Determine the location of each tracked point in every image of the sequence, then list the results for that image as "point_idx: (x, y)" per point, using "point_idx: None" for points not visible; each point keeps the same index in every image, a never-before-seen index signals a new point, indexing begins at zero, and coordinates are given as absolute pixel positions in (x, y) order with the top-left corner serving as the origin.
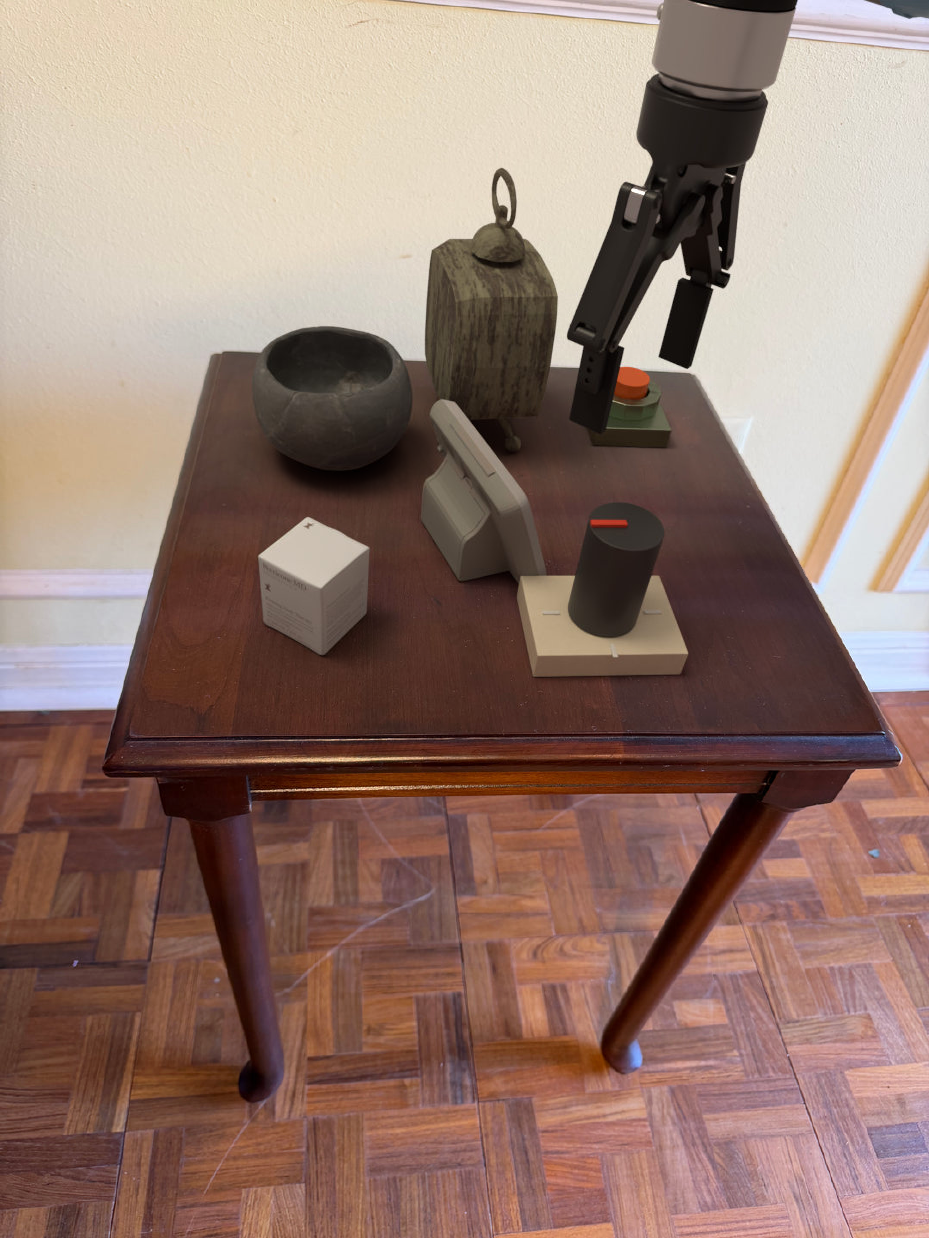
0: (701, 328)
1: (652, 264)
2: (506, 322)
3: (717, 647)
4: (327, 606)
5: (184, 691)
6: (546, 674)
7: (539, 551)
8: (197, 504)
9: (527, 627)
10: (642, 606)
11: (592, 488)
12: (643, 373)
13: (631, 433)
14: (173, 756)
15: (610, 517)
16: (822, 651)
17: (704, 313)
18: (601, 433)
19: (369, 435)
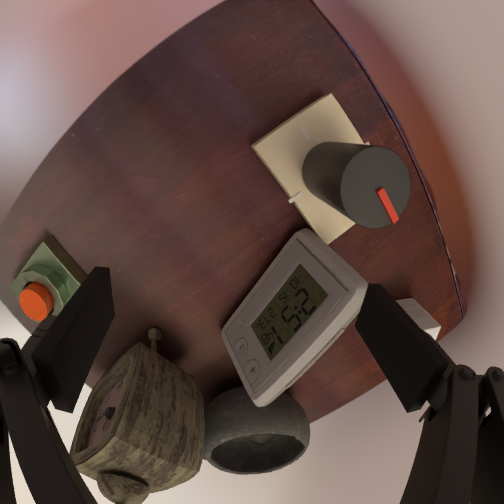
0: (70, 303)
1: (470, 495)
2: (169, 438)
3: (274, 78)
4: (428, 316)
5: (442, 323)
6: None
7: (321, 247)
8: (335, 405)
9: None
10: (302, 144)
11: (146, 257)
12: (21, 299)
13: (68, 267)
14: (466, 301)
15: (374, 208)
16: (223, 12)
17: (62, 324)
18: (376, 284)
19: (281, 403)
